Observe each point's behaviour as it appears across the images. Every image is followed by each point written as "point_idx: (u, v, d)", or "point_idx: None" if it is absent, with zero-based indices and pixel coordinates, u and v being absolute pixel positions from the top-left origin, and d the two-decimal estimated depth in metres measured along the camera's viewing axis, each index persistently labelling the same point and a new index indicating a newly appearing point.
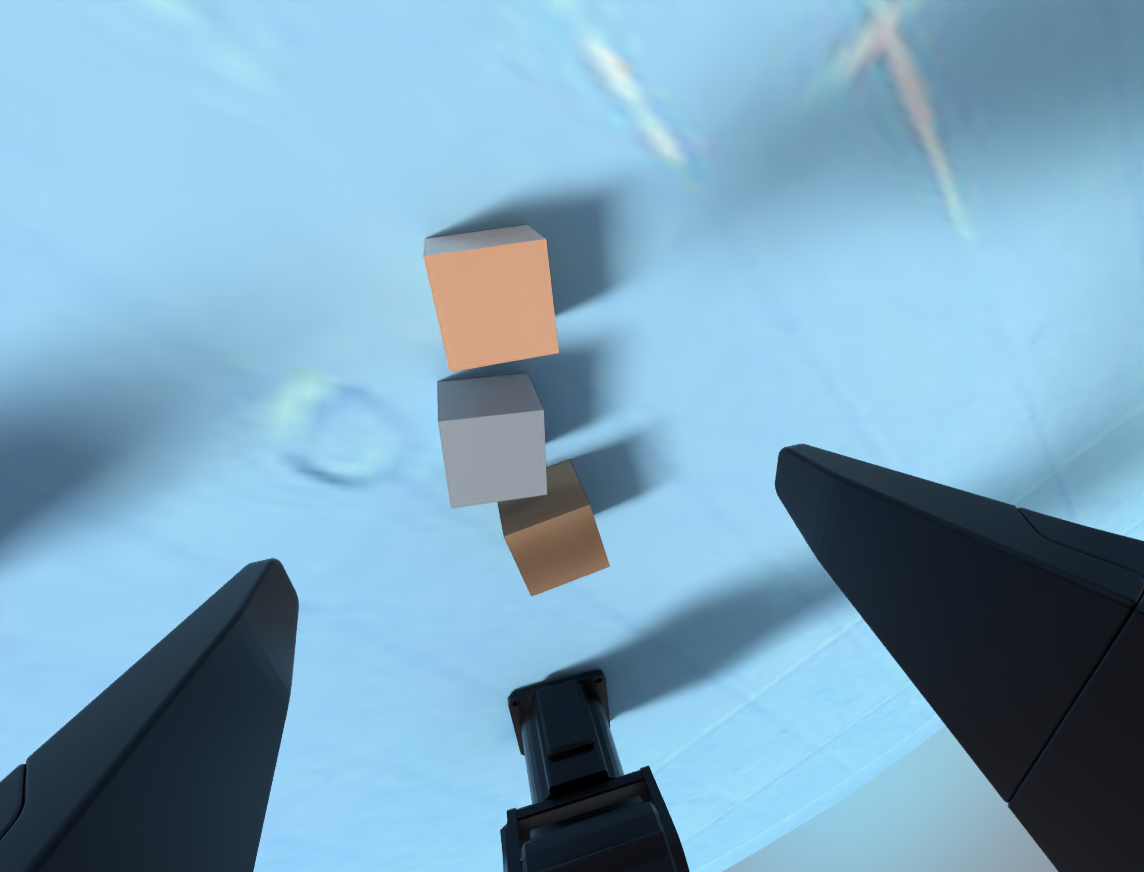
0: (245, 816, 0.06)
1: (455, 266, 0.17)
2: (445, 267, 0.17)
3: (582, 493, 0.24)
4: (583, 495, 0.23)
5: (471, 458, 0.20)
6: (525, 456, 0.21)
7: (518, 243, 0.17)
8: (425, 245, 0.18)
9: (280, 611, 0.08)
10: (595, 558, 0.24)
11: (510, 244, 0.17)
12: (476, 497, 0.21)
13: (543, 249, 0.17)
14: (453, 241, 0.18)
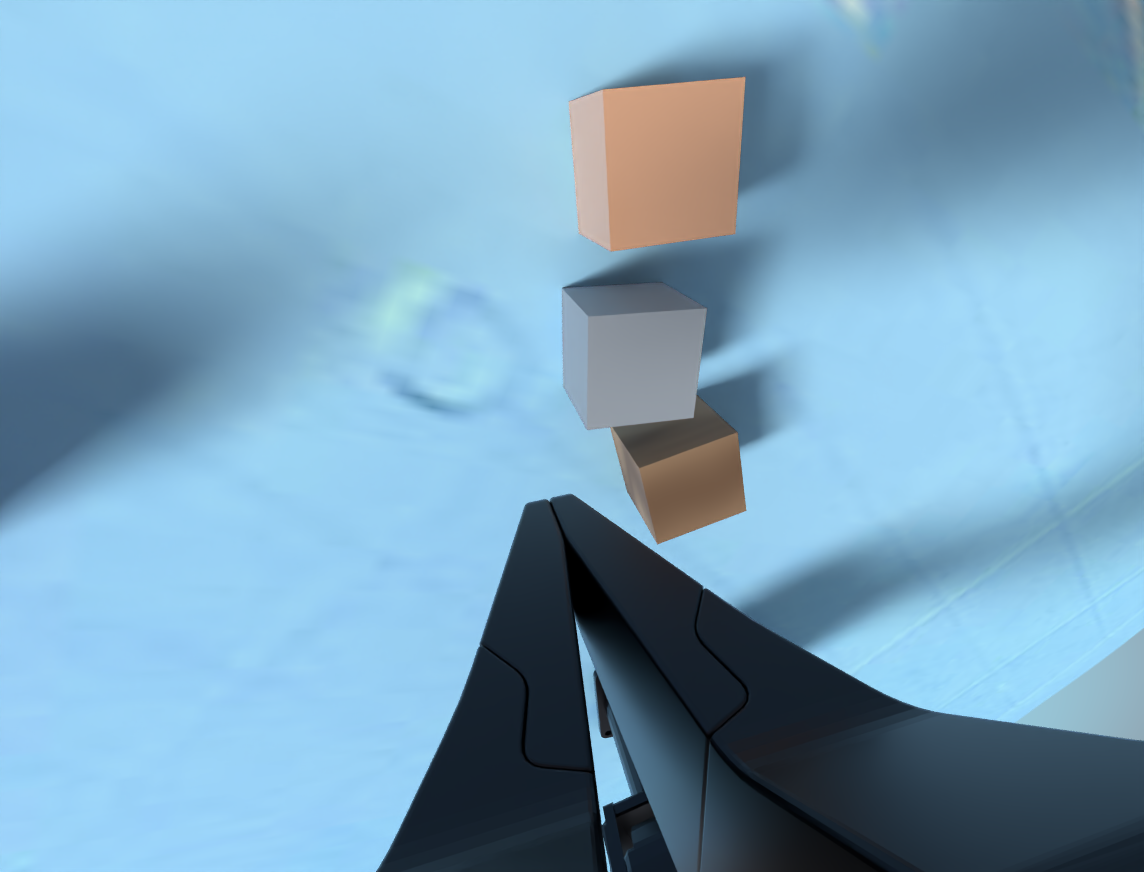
0: None
1: (637, 107, 0.14)
2: (625, 107, 0.14)
3: (723, 422, 0.20)
4: (725, 424, 0.20)
5: (619, 367, 0.17)
6: (677, 368, 0.18)
7: (712, 80, 0.14)
8: (583, 96, 0.15)
9: None
10: (732, 500, 0.21)
11: (703, 81, 0.14)
12: (616, 417, 0.18)
13: (740, 90, 0.14)
14: None
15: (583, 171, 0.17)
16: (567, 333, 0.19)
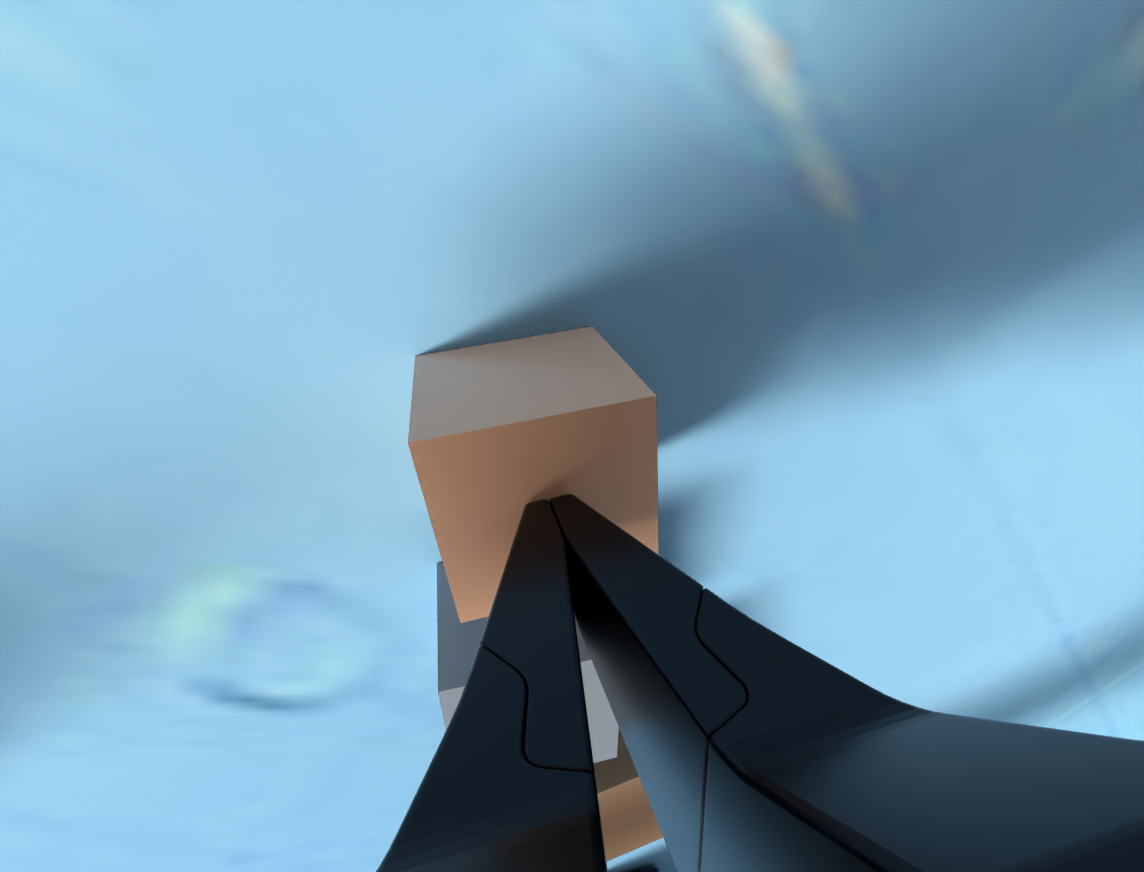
0: None
1: (474, 456, 0.08)
2: (453, 459, 0.08)
3: None
4: None
5: None
6: None
7: (601, 406, 0.08)
8: (415, 387, 0.10)
9: None
10: None
11: (586, 409, 0.08)
12: None
13: (649, 414, 0.09)
14: (467, 377, 0.10)
15: None
16: None
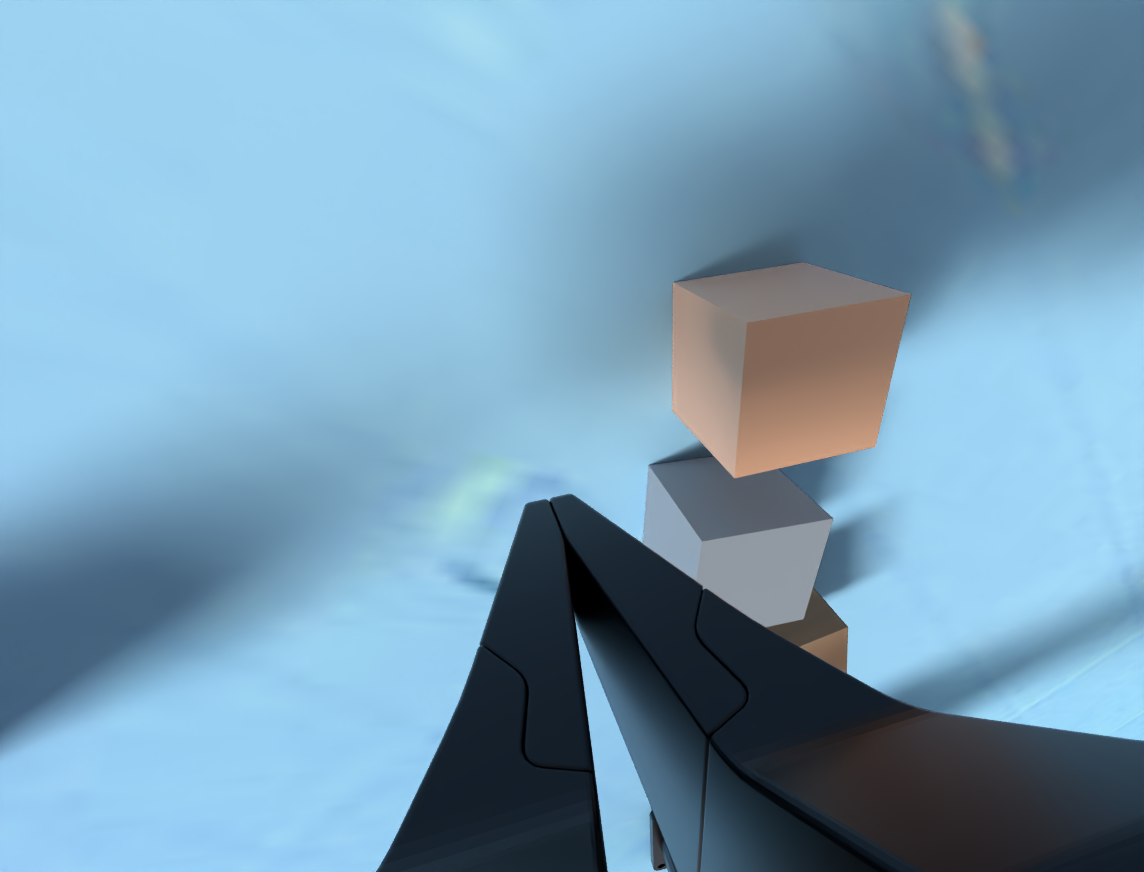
0: None
1: (783, 335, 0.11)
2: (770, 337, 0.11)
3: (827, 607, 0.18)
4: (830, 610, 0.18)
5: (729, 583, 0.15)
6: (792, 576, 0.15)
7: (873, 301, 0.11)
8: (703, 297, 0.13)
9: None
10: None
11: (862, 302, 0.11)
12: None
13: (903, 309, 0.12)
14: (738, 291, 0.13)
15: (691, 365, 0.14)
16: (656, 518, 0.17)
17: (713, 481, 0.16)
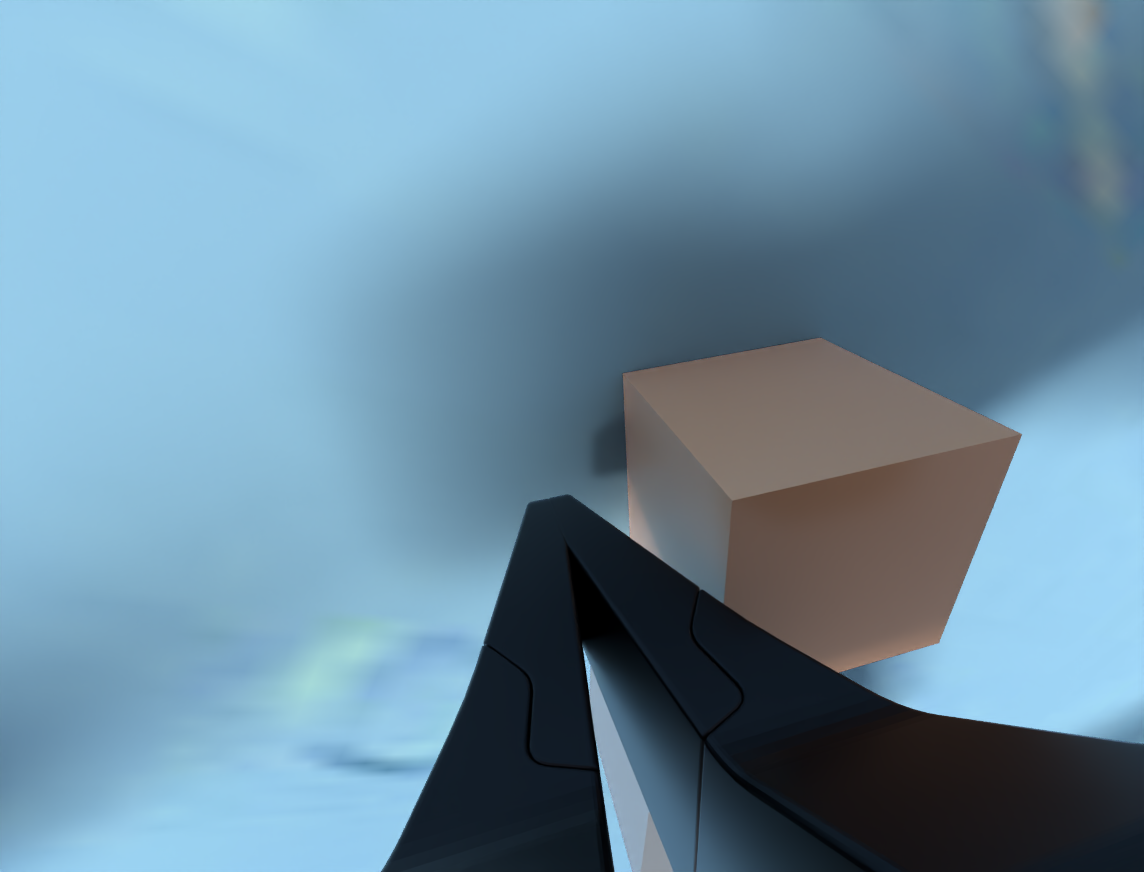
0: None
1: (799, 514, 0.06)
2: (775, 519, 0.06)
3: None
4: None
5: None
6: None
7: (956, 448, 0.06)
8: (663, 417, 0.08)
9: None
10: None
11: (938, 452, 0.06)
12: None
13: (1006, 457, 0.07)
14: (722, 404, 0.08)
15: (651, 504, 0.09)
16: None
17: None
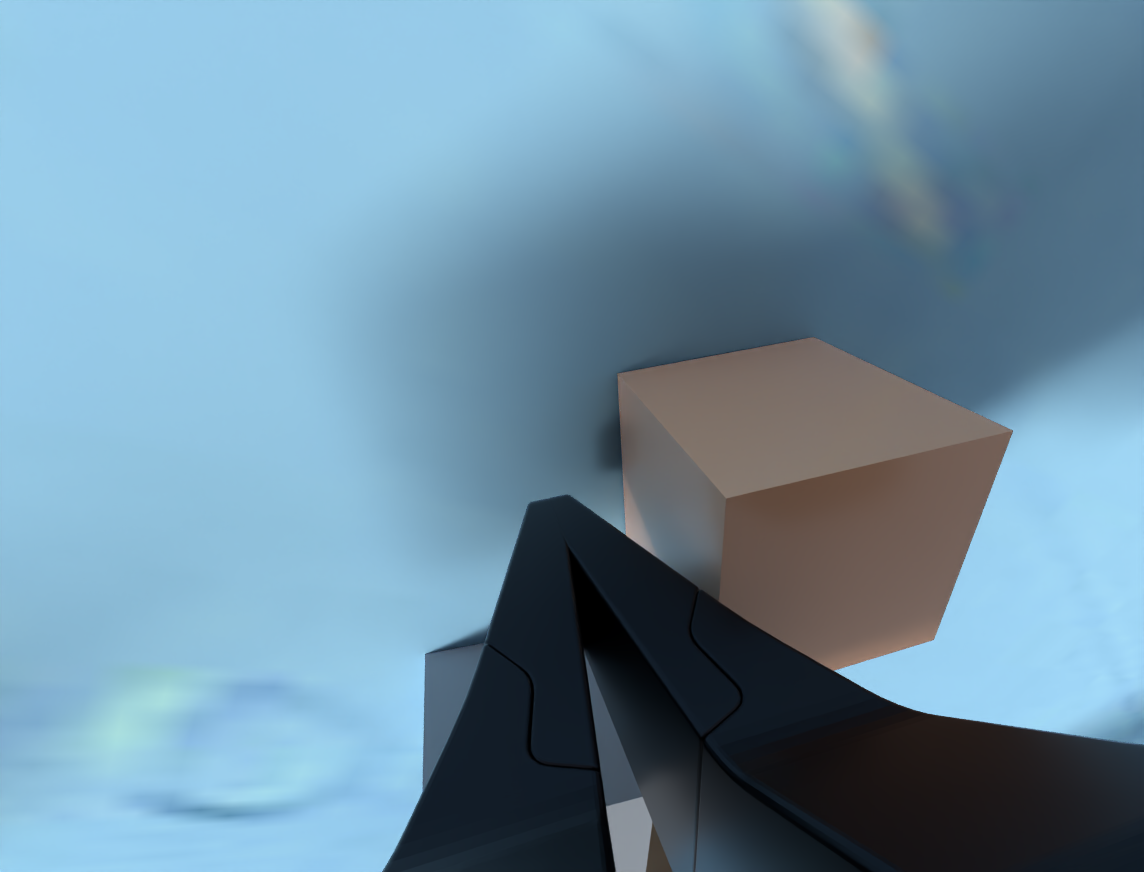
0: None
1: (792, 511, 0.06)
2: (769, 516, 0.06)
3: None
4: None
5: None
6: None
7: (949, 445, 0.07)
8: (658, 417, 0.08)
9: None
10: None
11: (931, 449, 0.06)
12: None
13: (998, 454, 0.07)
14: (717, 403, 0.08)
15: (647, 504, 0.09)
16: None
17: None
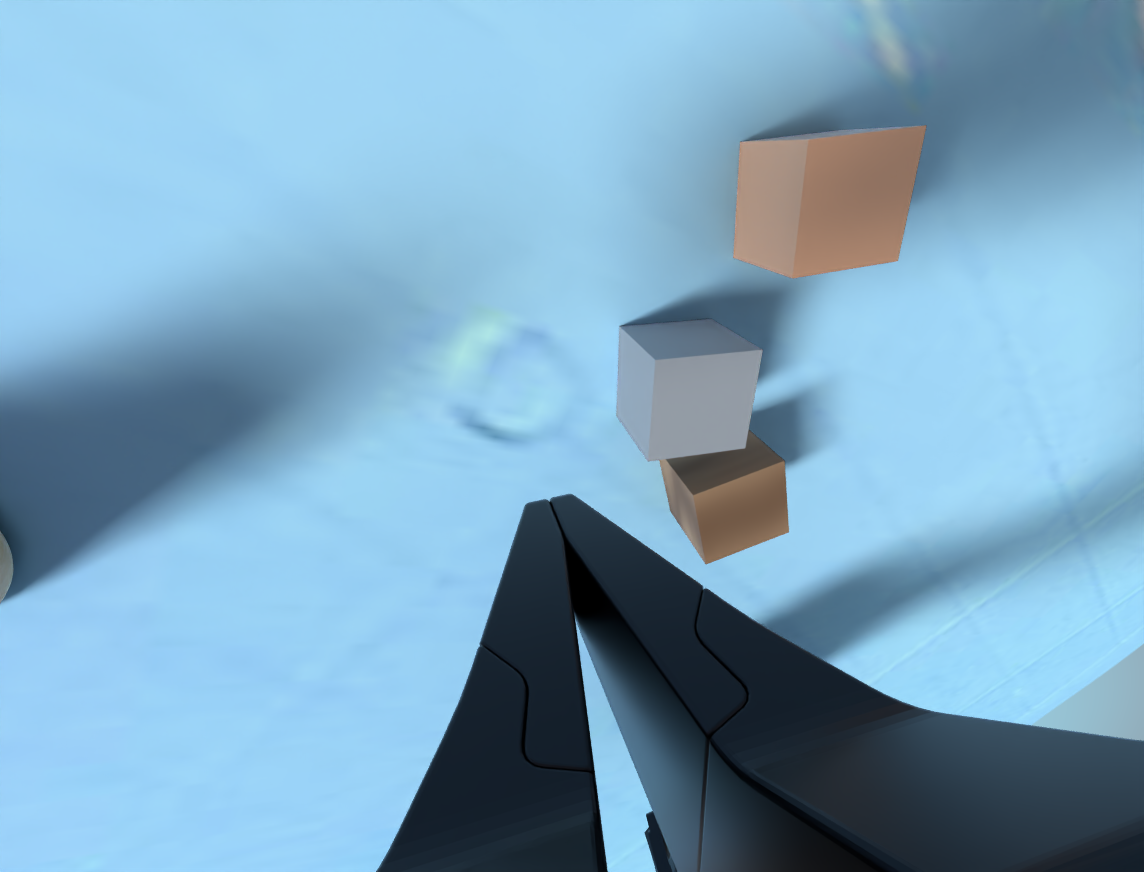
0: None
1: (833, 153, 0.15)
2: (824, 154, 0.15)
3: (769, 450, 0.22)
4: (771, 452, 0.21)
5: (680, 404, 0.18)
6: (732, 404, 0.19)
7: (899, 129, 0.16)
8: (768, 140, 0.17)
9: None
10: (776, 522, 0.22)
11: (891, 130, 0.16)
12: (675, 449, 0.19)
13: (920, 137, 0.16)
14: (795, 137, 0.17)
15: (755, 204, 0.18)
16: (625, 369, 0.21)
17: (670, 333, 0.20)
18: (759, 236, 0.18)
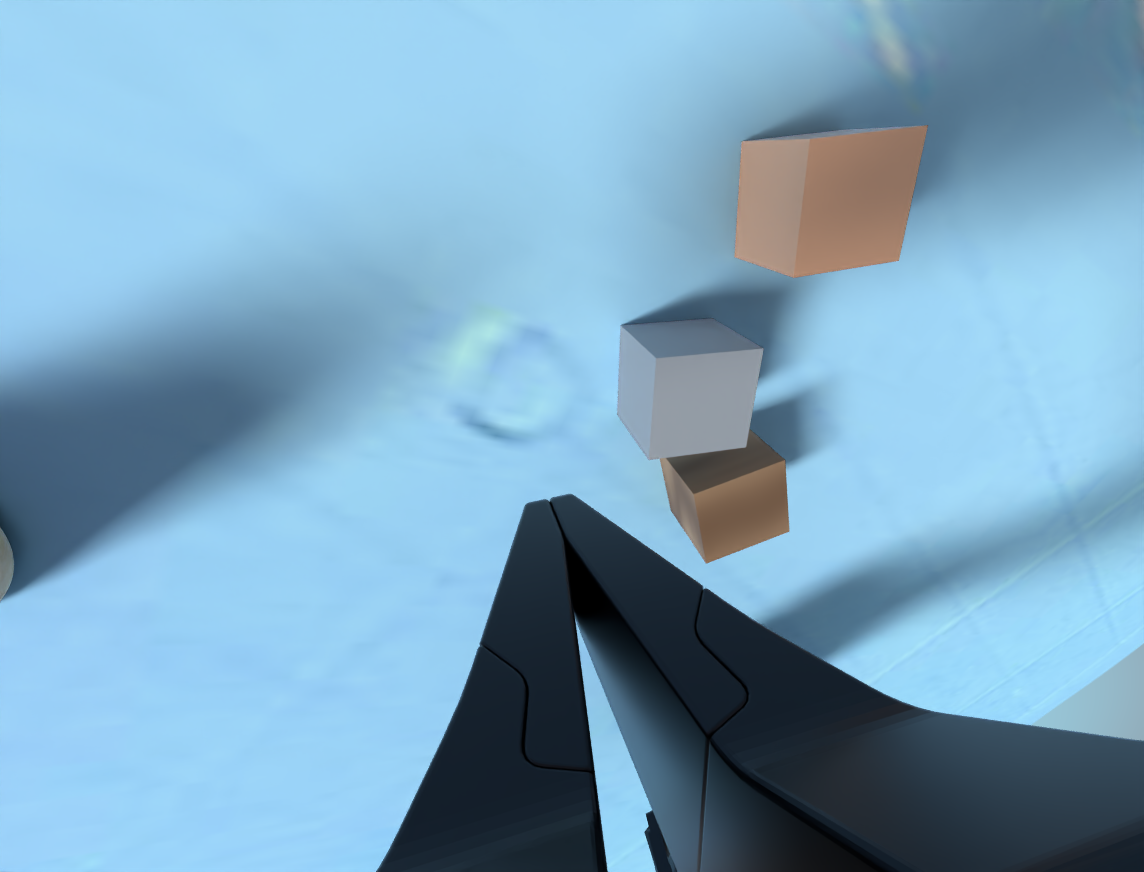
0: None
1: (835, 153, 0.15)
2: (825, 153, 0.15)
3: (770, 449, 0.22)
4: (772, 451, 0.22)
5: (681, 402, 0.18)
6: (733, 402, 0.19)
7: (900, 129, 0.16)
8: (770, 140, 0.17)
9: None
10: (777, 521, 0.22)
11: (892, 129, 0.16)
12: (676, 448, 0.19)
13: (922, 137, 0.16)
14: (796, 137, 0.17)
15: (756, 204, 0.18)
16: (626, 368, 0.21)
17: (671, 332, 0.20)
18: (760, 235, 0.18)
